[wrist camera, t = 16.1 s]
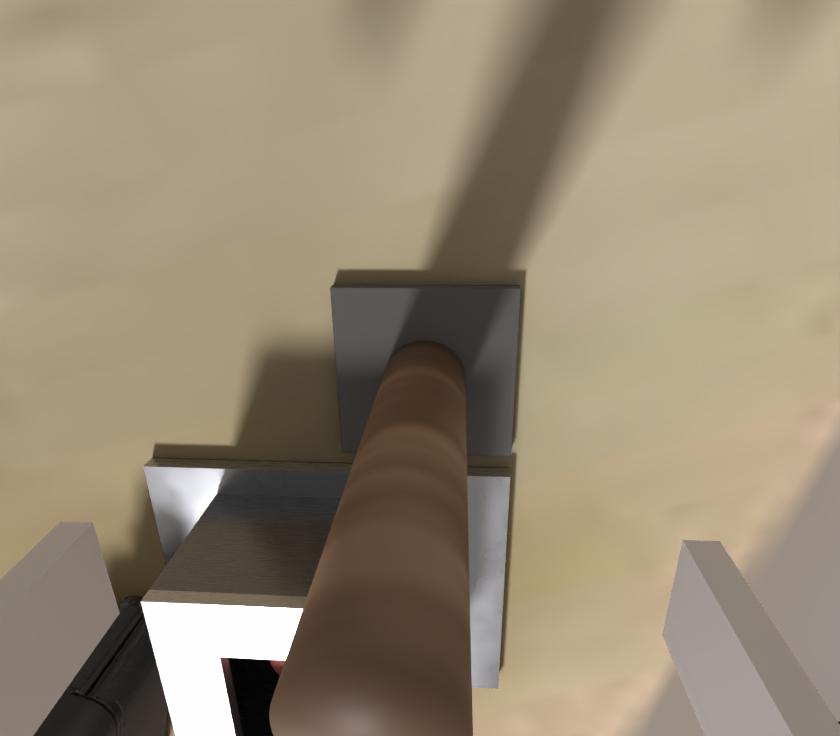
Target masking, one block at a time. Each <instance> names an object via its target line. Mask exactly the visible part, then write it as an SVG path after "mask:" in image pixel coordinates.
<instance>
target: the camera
mask: <svg viewBox="0 0 840 736" xmlns="http://www.w3.org/2000/svg"><path fill="white" fill-rule="evenodd" d="M142 599H143V598H142V597H139V596H134V597H128V598H125V600H124V601H121V602H120V604H119V606H118V609H119V612H120V614H119V615H118V616H117V618H116V619H115V621H114V622H113V623H112V625H111V626H110V628H109V629H108V631H107V632H106V633H105V635H104V636H103V638H102V639H101V640H100V642H99V643H98V645H97V646H96V648H95V649H94V650H93V652H92V653H91V655H90V656H89V657H88V659H87V660H86V662H85V663H84V665H83V666H82V667H81V669H80V670H79V672H78V673H77V674H76V676H75V677H74V679H73V680H72V682H71V683H70V684H69V686H68V687H67V689H66V690H65V691H64V693H63V694H62V696H61V697H60V699H59V700H58V701H57V703H56V704H55V706H54V707H53V708H52V710H51V711H50V713H49V714H48V716H47V717H46V718H45V720H44V721H43V723H42V724H41V725H40V727H39V728H38V730H37V731H36V733H35V734H34V735H33V736H165V735H166V725H167V715H168V705H167V701H166V697H165V693H164V690H163V686H162V682H161V678H160V674H159V670H158V667H157V663H156V659H155V655H154V651H153V647H152V644H151V640H150V636H149V632H148V628H147V624H146V620H145V617H144V613H143V609H142V605H141V600H142Z"/></svg>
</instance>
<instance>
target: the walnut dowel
mask: <svg viewBox="0 0 840 736" xmlns="http://www.w3.org/2000/svg"><path fill="white" fill-rule="evenodd" d="M269 718H270V726H271V729H272V733H273V735H274V736H473V724H472V677H471V630H470V583H469V535H468V488H467V441H466V394H465V372H464V368H463V365H462V363H461V361H460V359H459V358H458V356H457V355H456V354H455V353H454V352H453V351H452V350H451V349H449V348H448V347H446V346H445V345H443V344H440V343H438V342H434V341H428V340H419V341H414V342H410V343H408V344H406V345H404V346H402V347H400V348H399V349H398V350H397V351H395V353H394V354H393V355H392V356H391V358H390V359H389V361H388V363H387V366H386V369H385V372H384V375H383V378H382V380H381V383H380V386H379V389H378V392H377V395H376V398H375V401H374V404H373V407H372V410H371V412H370V415H369V418H368V421H367V424H366V427H365V430H364V433H363V436H362V439H361V442H360V444H359V447H358V450H357V453H356V456H355V459H354V462H353V465H352V468H351V471H350V474H349V476H348V479H347V482H346V485H345V488H344V491H343V494H342V497H341V500H340V503H339V506H338V508H337V511H336V514H335V517H334V520H333V523H332V526H331V529H330V532H329V535H328V538H327V541H326V543H325V546H324V549H323V552H322V555H321V558H320V561H319V564H318V567H317V570H316V573H315V575H314V578H313V581H312V584H311V587H310V590H309V593H308V596H307V599H306V602H305V605H304V607H303V610H302V613H301V616H300V619H299V622H298V625H297V628H296V631H295V634H294V637H293V639H292V642H291V645H290V648H289V651H288V654H287V657H286V660H285V663H284V666H283V669H282V671H281V674H280V677H279V680H278V683H277V686H276V689H275V692H274V695H273V698H272V701H271V704H270V711H269Z"/></svg>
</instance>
